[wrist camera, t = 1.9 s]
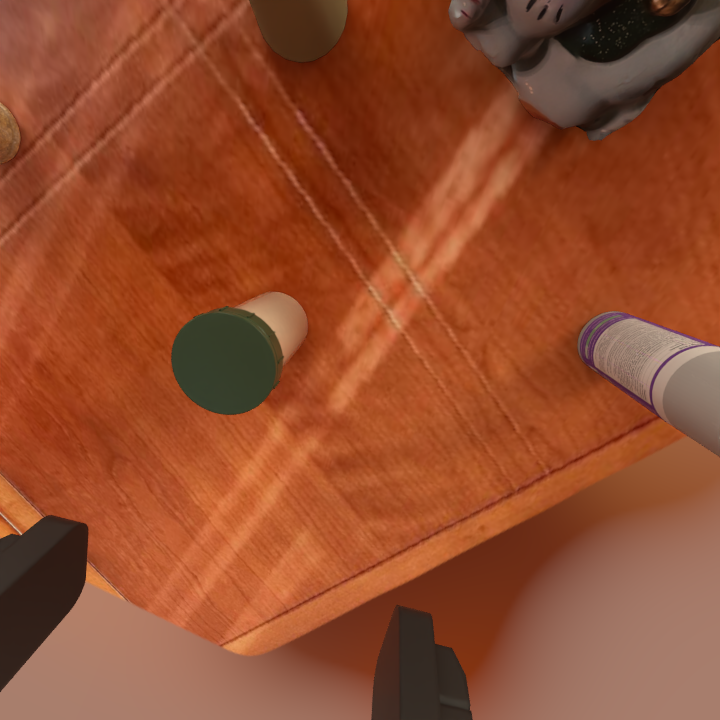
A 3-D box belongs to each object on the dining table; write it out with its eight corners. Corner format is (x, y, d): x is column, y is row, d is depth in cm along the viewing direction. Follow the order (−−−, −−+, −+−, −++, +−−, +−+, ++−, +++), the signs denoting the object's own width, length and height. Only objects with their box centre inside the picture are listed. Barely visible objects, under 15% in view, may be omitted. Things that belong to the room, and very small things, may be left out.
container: (653, 349, 33) (856, 443, 18) (595, 382, 34) (742, 496, 19) (624, 298, 32) (812, 354, 17) (565, 334, 33) (696, 414, 18)
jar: (239, 347, 35) (176, 393, 25) (248, 284, 34) (186, 307, 24) (301, 362, 35) (263, 415, 25) (314, 300, 34) (279, 330, 24)
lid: (180, 390, 27) (165, 400, 25) (191, 296, 25) (176, 300, 23) (274, 414, 26) (266, 426, 25) (292, 321, 25) (284, 327, 23)
